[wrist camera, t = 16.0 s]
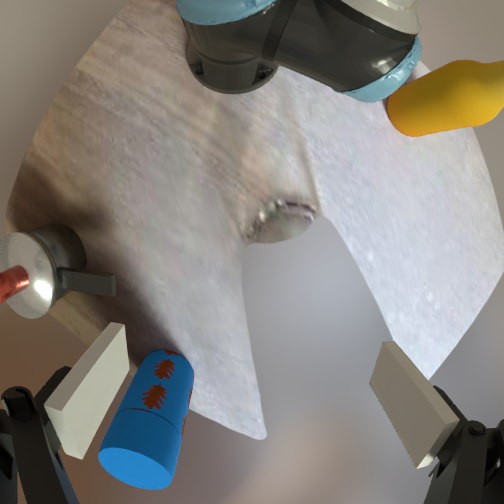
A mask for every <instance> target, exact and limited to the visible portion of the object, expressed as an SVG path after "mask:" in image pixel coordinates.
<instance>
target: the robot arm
mask: <svg viewBox="0 0 504 504" xmlns="http://www.w3.org/2000/svg"><path fill="white" fill-rule="evenodd" d="M423 1H424V0H176V7H177V10H178V13H179V14H180V16H181V19H182V21H183V23H184V25H185V28H186V30H187V32H188V35H189V37H190V39H189V42H188V46H187V62H188V65H189V67H190V70H191V72H192V73H193V75H194V77H195V78H196V79H197V80H198V81H199V82H200V83H201V84H202V85H204V86H205V87H207V88H209V89H211V90H213V91H216V92H220V93H225V94H241V93H246V92H250V91H253V90H255V89H258V88H260V87H261V86H263V85H264V84H266V83H267V82H268V81H269V80H270V79H271V78H272V77H273V76H274V75H275V73H276V71H277V70H278V67H279V65H280V66H283V67H285V68H288V69H290V70H293V71H295V72H297V73H300V74H302V75H304V76H307V77H309V78H311V79H314V80H316V81H318V82H320V83H322V84H324V85H327V86H329V87H331V88H332V89H333V90H334V91H336V92H337V93H341V94H346V95H348V96H350V97H352V98H354V99H356V100H359V101H361V102H366V103H373V102H377V101H380V100H382V99H384V98H386V97H388V96H389V95H391V94H392V93H393V92H395V91H396V90H397V89H398V88H399V87H400V86H401V85H402V84H403V83H404V82H405V81H406V80H407V79H408V77H409V76H410V75H411V69H412V68H413V67H415V66H416V65H417V63H418V61H419V58H420V55H421V51H422V46H421V42H420V39H419V38H418V37H417V34H418V33H419V32H420V30H421V24H420V21H419V17H418V14H417V9H418V8H419V6H420V5H421V4H422V2H423ZM129 369H130V368H129V361H128V353H127V344H126V334H125V324H119V323H113V322H111V323H110V324H109V325H108V326H107V327H106V328H105V330H104V331H103V332H102V333H101V334H100V335H99V337H98V338H97V339H96V340H95V341H94V342H93V344H92V345H91V346H90V347H89V349H88V350H87V351H86V352H85V353H84V354H83V356H82V357H81V358H80V359H79V361H78V362H77V363H76V364H75V365H74V367H73V368H71V367H67V366H64V367H63V368H61V369H59V370H57V371H56V372H55V373H54V374H53V375H52V377H51V378H50V379H49V380H48V381H47V382H46V385H44V386H43V387H42V389H41V390H40V391H39V392H38V393H37V394H36V396H35V397H34V398H33V396H32V394H31V392H30V391H29V390H28V389H27V388H24V387H22V386H15V387H11V388H9V389H7V390H6V391H4V393H3V394H2V397H1V401H2V403H3V405H4V407H5V410H3V409H0V504H18V501H17V500H18V498H17V472H19V476H20V480H21V484H22V488H23V491H24V495H25V498H26V501H27V504H79V501H78V499H77V497H76V495H75V493H74V490H73V488H72V486H71V483H70V481H69V478H68V476H67V474H66V471H65V468H64V466H63V463H62V460H61V457H60V455H59V453H58V450H59V448H60V446H61V445H62V447H63V449H64V451H65V453H66V454H68V455H71V456H74V457H76V458H79V459H83V457H84V455H85V453H86V451H87V449H88V447H89V445H90V443H91V441H92V439H93V437H94V435H95V433H96V431H97V429H98V427H99V425H100V423H101V421H102V419H103V418H104V416H105V414H106V412H107V410H108V408H109V406H110V404H111V402H112V400H113V398H114V397H115V395H116V393H117V391H118V389H119V387H120V385H121V384H122V382H123V380H124V378H125V376H126V375H127V373H128V371H129ZM369 384H370V386H371V387H372V389H373V391H374V393H375V395H376V396H377V398H378V400H379V402H380V403H381V405H382V407H383V409H384V411H385V412H386V414H387V415H388V418H389V419H390V421H391V423H392V425H393V427H394V428H395V430H396V432H397V434H398V436H399V437H400V439H401V441H402V443H403V445H404V446H405V449H406V450H407V452H408V454H409V456H410V458H411V460H412V461H413V464H414V465H415V467H416V469H417V468H420V467H424V466H427V465H430V464H431V463H432V461H433V460H434V458H435V457H436V456H437V457H438V459H439V460H440V461H439V462H438V463H437V465H436V466H435V467H434V469H433V470H432V471H431V472H430V474H429V477H430V476H431V475H432V474H433V473H434V474H433V478H432V481H431V484H430V487H429V490H428V493H427V496H426V499H425V501H424V504H504V419H503V420H501V421H500V423H499V424H498V426H497V427H496V428H487V429H486V427H485V426H484V425H483V424H482V423H480V422H478V421H473V420H471V421H468V420H467V419H466V418H465V417H464V415H463V414H462V413H461V412H460V410H459V409H458V408H457V407H456V405H455V404H453V402H452V401H451V399H449V397H448V396H447V395H446V393H445V392H444V391H443V390H441V389H440V388H438V387H437V386H432V385H431V384H430V382H429V381H428V380H427V379H426V378H425V376H424V375H423V374H422V373H421V372H420V370H419V369H418V368H417V367H416V366H415V365H414V363H413V362H412V361H411V360H410V359H409V357H408V356H407V355H406V354H405V353H404V352H403V350H402V349H401V348H400V347H399V346H398V345H397V344H396V342H395V341H393V342H383V343H382V346H381V349H380V352H379V355H378V358H377V362H376V364H375V367H374V371H373V373H372V376H371V379H370V382H369ZM499 460H500V466H499V467H497V463H498V461H499Z"/></svg>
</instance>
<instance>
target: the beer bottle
mask: <svg viewBox="0 0 504 504" xmlns="http://www.w3.org/2000/svg"><path fill="white" fill-rule="evenodd" d="M503 107H504V61H498V62H493V63H480V62H477V61H472V60H457V61H453V62H450V63H448V64H446V65H444V66H442V67H440V68H438V69H436V70H434V71H432V72H430V73H428V74H426V75H424V76H422V77H420V78H418V79H416V80H414V81H412V82H410V83H409V84H407V85H405V86H403V87H400V88H398V89H397V90H396V91H395V92H393V93H392V94H391V95H390V97H389V99H388V103H387V111H388V115H389V118H390V120H391V122H392V124H393V125H394V127H395V128H396V129H397V130H398V131H400V132H401V133H403V134H404V135H407V136H411V137H420V136H424V135H427V134H432V133H438V132H443V131H448V130H454V129H460V128H466V127H473V126H478V125H482V124H485V123H487V122H489V121H490V120H492V119H493V118H494V117H495V116H496V115H497V114H498V112H499V111H500V110H501V109H502V108H503Z"/></svg>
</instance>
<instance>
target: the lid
mask: <svg viewBox="0 0 504 504" xmlns="http://www.w3.org/2000/svg"><path fill="white" fill-rule="evenodd" d="M56 295H57V277H56V272H55V268H54V265H53V262H52V260H51V257H50V255H49V253H48V251H47V250H46V248H45V247H44V245H43V244H42V243H41V242H40V241H39V240H38V239H37V238H36V237H35V236H33V235H32V234H30V233H28V232H24V231H17V232H13V233H10V234H7V235H6V236H4V237H3V238H2V239H1V241H0V304H1V303H3V302H4V301H6V302H7V303H8V304H9V306H10V307H11V308H12V309H13V310H14V311H15V312H17V313H18V314H19V315H21V316H23V317H26V318H30V319H35V318H39V317H41V316H42V315H44V314H45V313H46V312H48V311H49V310H50V309H51V308H52V306H53V304H54V302H55V299H56Z"/></svg>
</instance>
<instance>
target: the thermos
mask: <svg viewBox="0 0 504 504" xmlns="http://www.w3.org/2000/svg"><path fill="white" fill-rule="evenodd" d="M193 381H194V371H193V369H192V367H191V365H190V363H189V362H188V361H187V360H186V359H185V358H184V357H183V356H181V355H179V354H177V353H175V352H172V351H168V350H157V351H154V352H152V353H150V354H149V355H148V356H147V357H146V358H145V359H144V361H143V362H142V364H141V365H140V367H139V368H138V370H137V372H136V374H135V376H134V378H133V380H132V382H131V384H130V386H129V388H128V390H127V392H126V394H125V396H124V398H123V400H122V402H121V404H120V406H119V408H118V410H117V412H116V414H115V416H114V418H113V420H112V422H111V425H110V427H109V429H108V431H107V433H106V435H105V437H104V439H103V441H102V444H101V447H100V451H99V461H100V463H101V465H102V466H103V467H104V468H105V469H106V470H107V471H108V472H109V473H110V474H112V475H113V476H114V477H116V478H117V479H119V480H121V481H123V482H125V483H127V484H129V485H132V486H136V487H139V488H144V489H152V490H153V489H163V488H165V487H167V486H169V484H170V483H171V481H172V478H173V476H174V473H175V469H176V464H177V460H178V455H179V449H180V445H181V440H182V435H183V431H184V426H185V421H186V417H187V412H188V408H189V403H190V399H191V394H192V389H193Z"/></svg>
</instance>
